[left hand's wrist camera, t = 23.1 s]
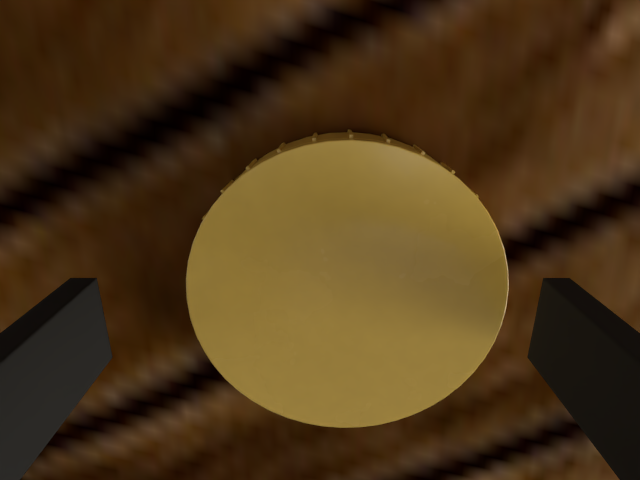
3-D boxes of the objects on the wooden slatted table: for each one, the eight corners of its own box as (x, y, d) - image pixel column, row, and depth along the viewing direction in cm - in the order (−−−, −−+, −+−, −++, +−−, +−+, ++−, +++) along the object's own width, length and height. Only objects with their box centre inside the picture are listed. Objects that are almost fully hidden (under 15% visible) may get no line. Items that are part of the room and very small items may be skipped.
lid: (288, 64, 13) (281, 61, 11) (552, 232, 14) (583, 253, 13) (155, 317, 16) (133, 346, 14) (383, 430, 18) (389, 470, 16)
